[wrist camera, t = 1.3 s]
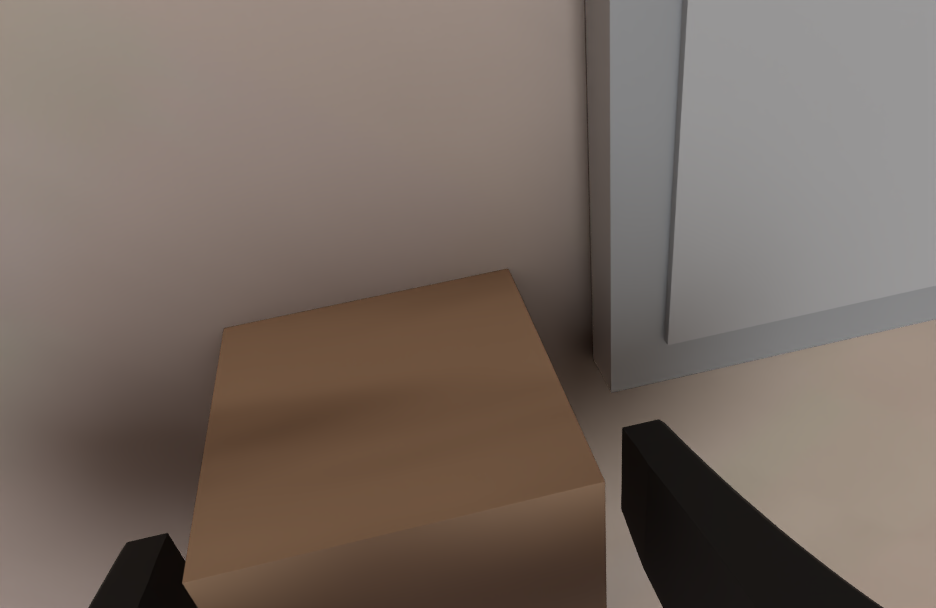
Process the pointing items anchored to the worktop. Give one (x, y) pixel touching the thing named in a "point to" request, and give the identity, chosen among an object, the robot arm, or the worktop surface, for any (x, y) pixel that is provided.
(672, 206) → the grey framed panel
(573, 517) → the cube
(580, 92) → the worktop surface
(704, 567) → the robot arm
